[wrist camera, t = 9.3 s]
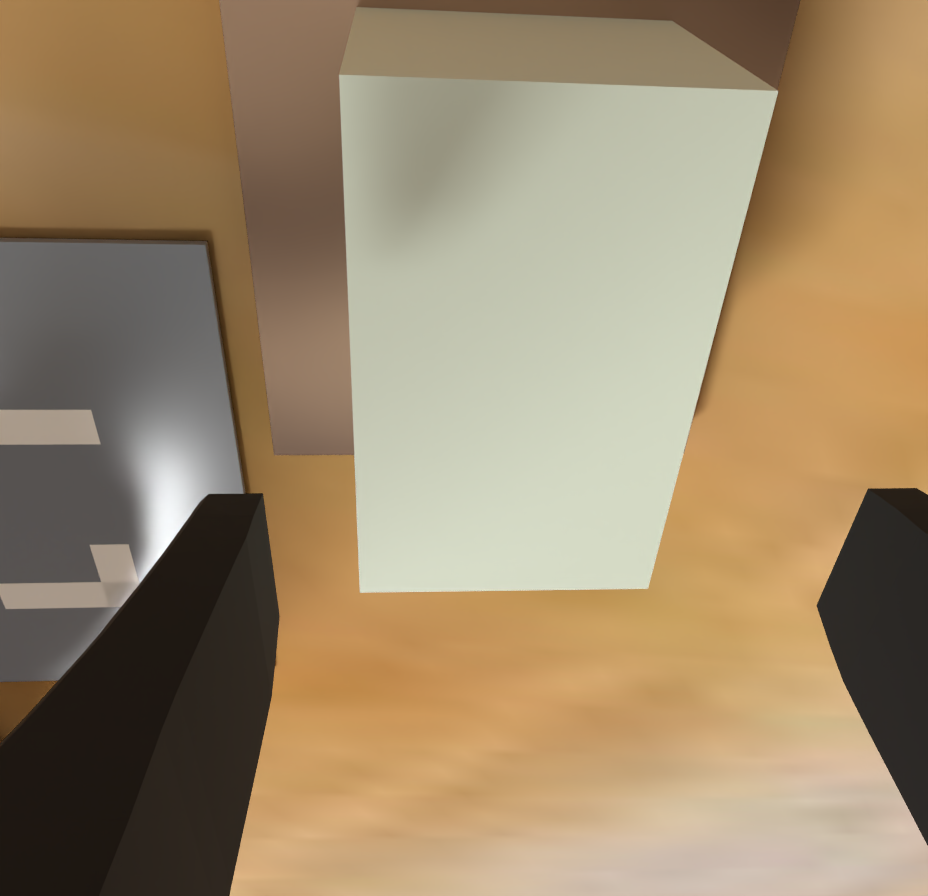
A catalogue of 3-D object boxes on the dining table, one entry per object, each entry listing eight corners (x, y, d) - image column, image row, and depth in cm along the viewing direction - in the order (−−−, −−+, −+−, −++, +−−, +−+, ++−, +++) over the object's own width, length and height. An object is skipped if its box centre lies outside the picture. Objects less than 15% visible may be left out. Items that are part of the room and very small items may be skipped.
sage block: (596, 436, 20) (647, 588, 16) (368, 435, 19) (360, 592, 15) (672, 20, 14) (778, 91, 10) (356, 7, 14) (338, 74, 10)
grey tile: (272, 670, 25) (271, 675, 25) (-64, 678, 24) (-68, 683, 24) (206, 241, 17) (205, 244, 17) (-307, 233, 16) (-315, 237, 16)
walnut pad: (675, 434, 21) (684, 453, 20) (278, 435, 20) (273, 455, 19) (784, -11, 15) (802, -5, 14) (224, -35, 14) (215, -29, 13)
